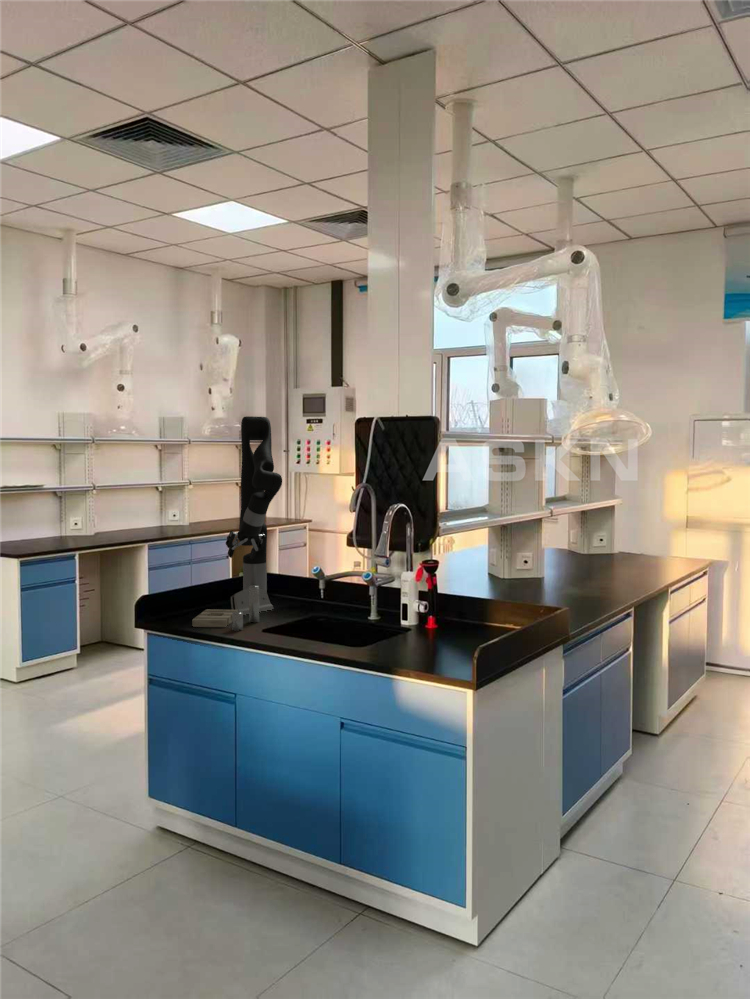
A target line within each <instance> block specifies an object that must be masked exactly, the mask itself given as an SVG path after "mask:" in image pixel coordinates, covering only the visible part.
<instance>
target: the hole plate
mask: <svg viewBox="0 0 750 999" xmlns="http://www.w3.org/2000/svg"><path fill="white" fill-rule="evenodd" d="M233 612H238V610H232V609H221V608H220V609H219V608H218V609H217V608H216V609H215V608H213V609H210V608H209V609H208V608H207V609H205V610H203V611H202V612H201V613H199V614H198V615H197V616H195V617H194V618H193V619H192V622H191V623H192V625H191V626H193V628H195V627H196V628H197V627H198V628H199V627H200V628H202V627H203V628H227V627H228V626H229V625H230V624H232V613H233ZM227 625H228V626H227ZM226 626H227V627H226Z"/></svg>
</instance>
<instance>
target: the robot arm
mask: <svg viewBox="0 0 750 999" xmlns="http://www.w3.org/2000/svg"><path fill="white" fill-rule="evenodd" d="M240 434H241V435H240V438H241V441H240V442H241V468H240V470H241V471H240V472H241V473H240V515H239V525H238V526H239V528H238V531H237V532H234V531H233V530H230V531H229V534H228V536H227V539H226V541H225V545H226V547H227V548H228V550H227V551H228V552H227V555H228V557H229V558H230V559H233V555H234V553H235V549H237V547H240V546H248V547H251V546H252V547H251V551H250V552H249V553H245V555H243V557H242V574H243V575H242V577H243V578H242V579H243V580H242V586H243V587H242V590H245V589H249V586H252V585H258V586H259V589H264V590H266V592H267V590H268V583H267V581H268V578H267V577H268V575H267V574H268V573H267V572H268V571H267V565H268V564H267V550H268V549H267V547H268V527H267V524H266V523H265V520H266V517H267V516H266V515H267V511H268V509H269V506H270V504H271V503H272V501H273V499H274V498H275V496H276V495H277V494H278V492H279V491H280V489H281V488H282V485H283V477H282V475H281V474H280V473H278V472H274V470H275V465H274V459H273V453H272V426H271V421H270V419H269V418H268V417H267V416H243V417H242V419H241V424H240ZM251 441H254V442H255V441H257V442H258V441H260V444H259V445H258V446H257V447H256V448H255V450H254V452H253V450H252V446H251ZM267 593H268V592H267Z"/></svg>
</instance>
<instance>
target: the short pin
mask: <svg viewBox="0 0 750 999" xmlns="http://www.w3.org/2000/svg"><path fill="white" fill-rule="evenodd" d="M231 624H232V625H231V626H232V631H233V630H234V631H233V632H240V631H239V630H242V631H243V630H244V616H243V612H233V613H232V622H231Z"/></svg>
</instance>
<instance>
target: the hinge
mask: <svg viewBox="0 0 750 999" xmlns="http://www.w3.org/2000/svg"><path fill="white" fill-rule="evenodd" d="M230 605H231V610H238V612H243V615H245V616H247V615H246V614H249V589H245V590H243V589H242V590H240V591H238V592H236V593H234V594H233V595H232V596H230ZM272 609H274V605H273V604H272V603H271V601H270V598H269V595H268V592H266V590H264V589H259V612H260V613H262V612H261V611H266V612H268V611H267V610H271V611H273V610H272Z"/></svg>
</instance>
